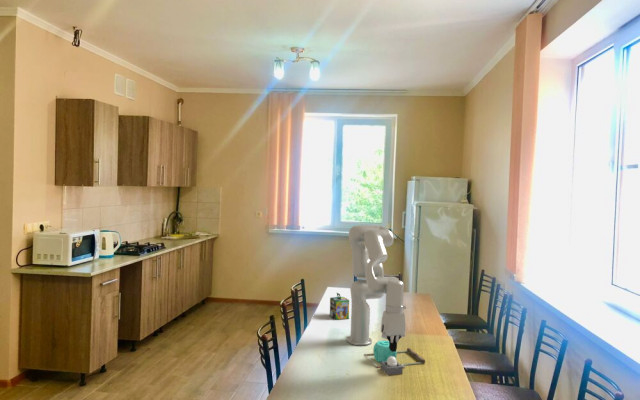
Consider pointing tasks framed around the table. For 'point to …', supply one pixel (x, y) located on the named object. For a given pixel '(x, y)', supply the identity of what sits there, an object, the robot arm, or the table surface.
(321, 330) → the table surface
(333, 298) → the chalk box
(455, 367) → the table surface
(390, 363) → the white ball
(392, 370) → the collar
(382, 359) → the decorative dice
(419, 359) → the lane
